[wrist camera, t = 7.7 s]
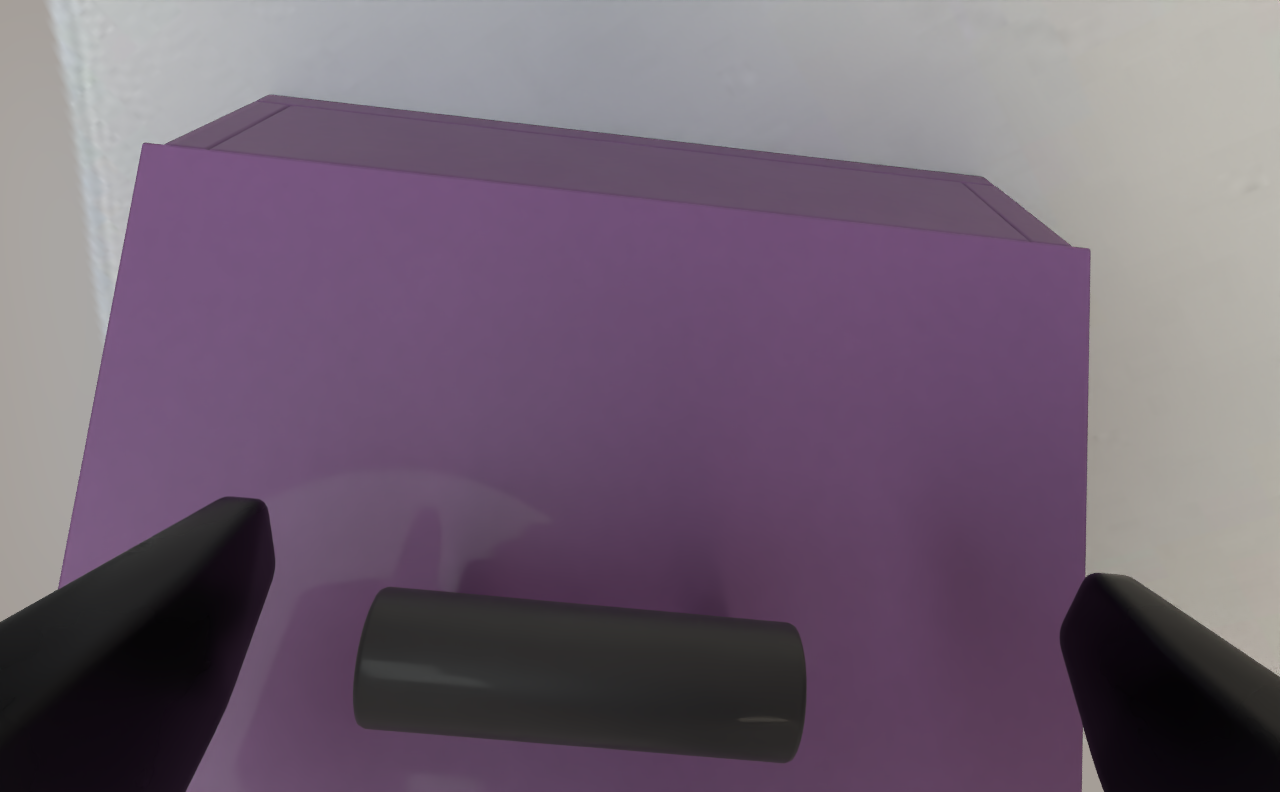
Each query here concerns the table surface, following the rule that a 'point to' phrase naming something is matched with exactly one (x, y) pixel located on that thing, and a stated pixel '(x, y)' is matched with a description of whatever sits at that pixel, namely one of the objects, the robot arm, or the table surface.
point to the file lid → (604, 482)
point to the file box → (619, 166)
